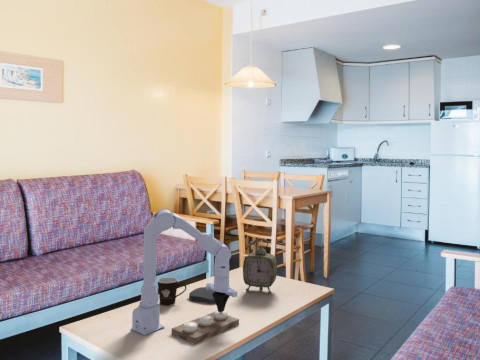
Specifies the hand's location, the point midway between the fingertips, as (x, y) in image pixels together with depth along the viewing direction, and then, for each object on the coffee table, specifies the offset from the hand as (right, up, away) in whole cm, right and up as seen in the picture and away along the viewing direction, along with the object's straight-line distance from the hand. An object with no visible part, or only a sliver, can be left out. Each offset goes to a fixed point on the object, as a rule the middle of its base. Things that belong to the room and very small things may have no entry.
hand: (221, 311), depth 170 cm
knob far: (0, -4, 0) cm, 4 cm away
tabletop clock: (+17, -2, +38) cm, 42 cm away
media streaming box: (-7, -3, +29) cm, 30 cm away
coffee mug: (-22, -3, +20) cm, 30 cm away
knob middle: (-5, -5, -6) cm, 9 cm away
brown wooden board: (-5, -5, -6) cm, 9 cm away
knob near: (-10, -5, -12) cm, 16 cm away
